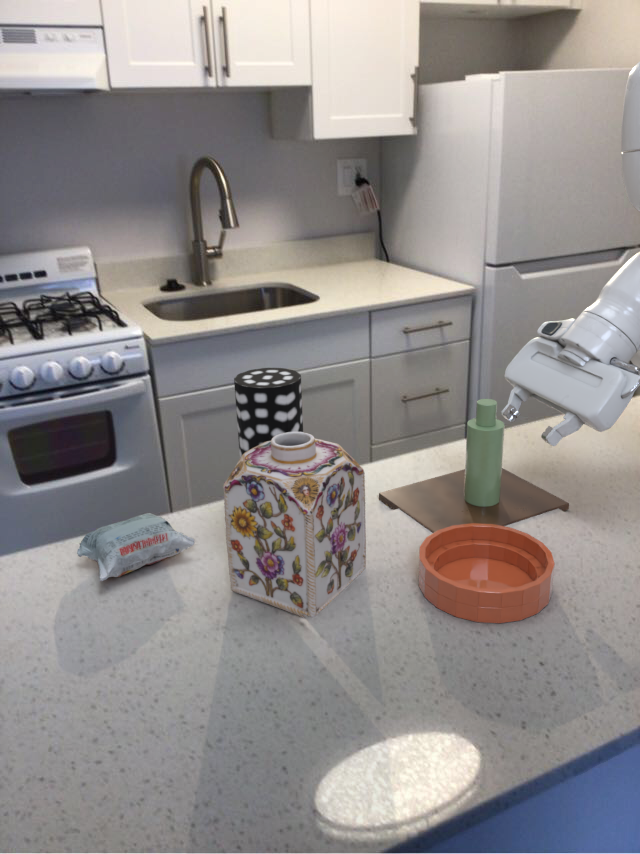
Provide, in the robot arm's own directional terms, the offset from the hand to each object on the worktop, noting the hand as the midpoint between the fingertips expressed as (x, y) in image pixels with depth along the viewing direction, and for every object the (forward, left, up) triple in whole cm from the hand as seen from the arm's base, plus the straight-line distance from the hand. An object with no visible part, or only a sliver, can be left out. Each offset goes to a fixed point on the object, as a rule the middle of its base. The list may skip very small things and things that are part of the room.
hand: (525, 429), depth 101 cm
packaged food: (+51, -11, -10) cm, 53 cm away
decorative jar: (+36, +3, -10) cm, 37 cm away
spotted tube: (+32, -12, -10) cm, 36 cm away
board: (+7, -2, -10) cm, 13 cm away
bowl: (+19, +15, -10) cm, 26 cm away
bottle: (+6, -1, -9) cm, 11 cm away
